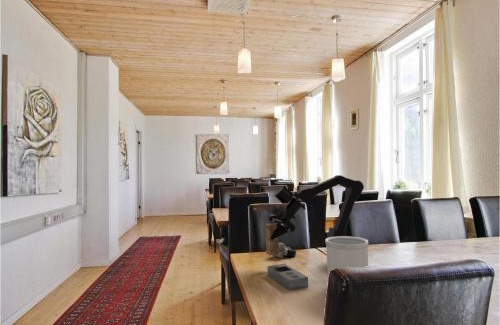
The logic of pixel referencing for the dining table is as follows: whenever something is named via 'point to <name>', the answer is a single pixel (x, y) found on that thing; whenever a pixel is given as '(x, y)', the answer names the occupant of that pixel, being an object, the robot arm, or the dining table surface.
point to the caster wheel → (284, 251)
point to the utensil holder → (346, 252)
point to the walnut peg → (271, 244)
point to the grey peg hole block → (287, 276)
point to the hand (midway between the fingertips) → (268, 238)
